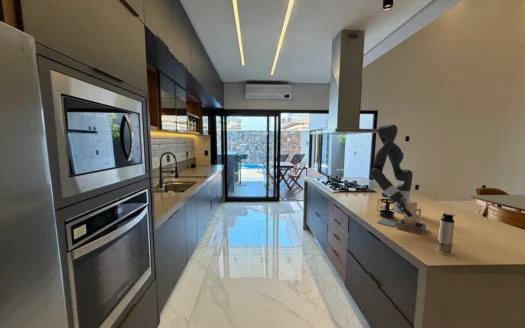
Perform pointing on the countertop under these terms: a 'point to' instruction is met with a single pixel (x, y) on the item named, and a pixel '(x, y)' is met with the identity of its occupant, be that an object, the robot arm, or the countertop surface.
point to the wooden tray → (412, 227)
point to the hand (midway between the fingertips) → (412, 215)
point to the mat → (387, 222)
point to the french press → (386, 207)
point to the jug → (412, 209)
